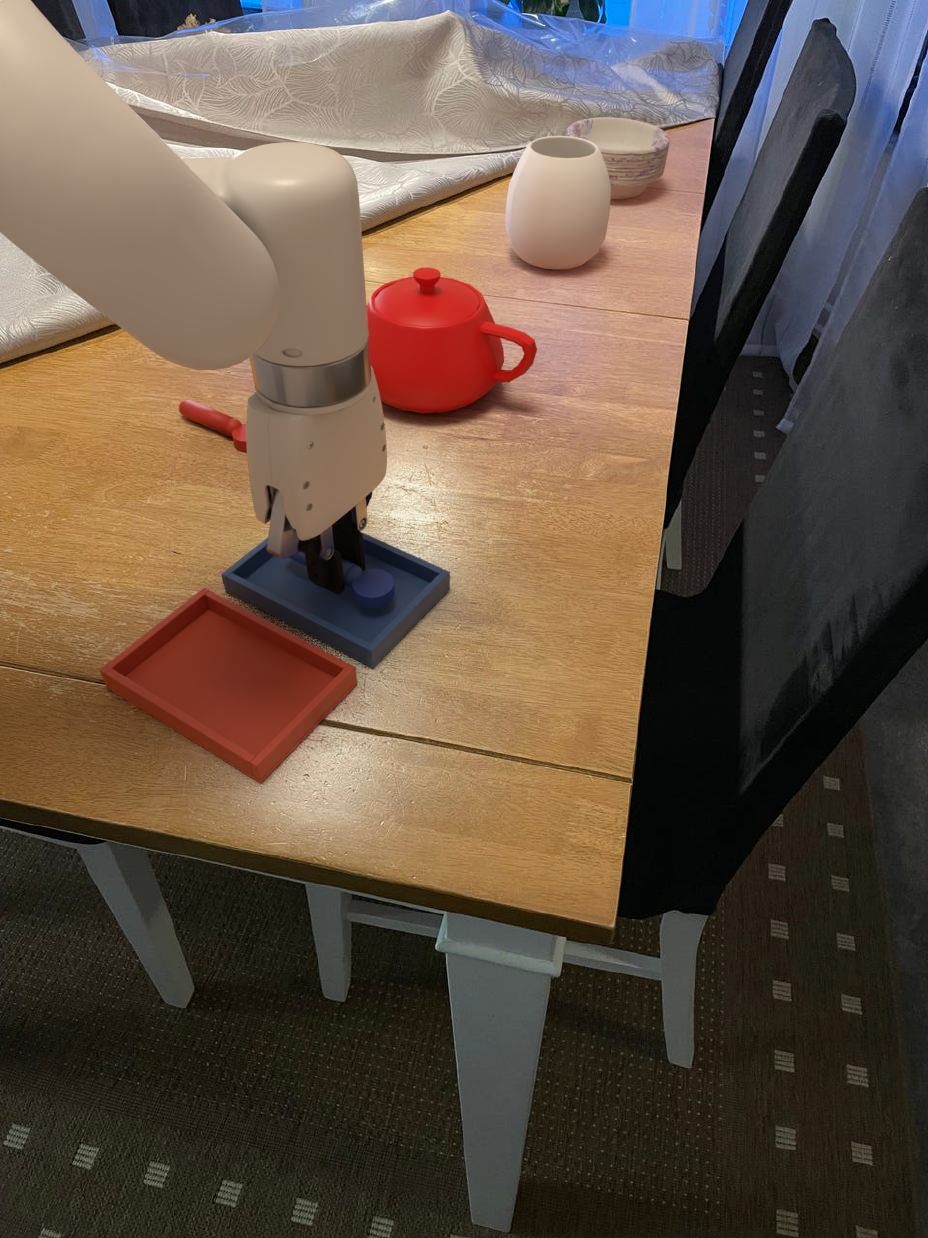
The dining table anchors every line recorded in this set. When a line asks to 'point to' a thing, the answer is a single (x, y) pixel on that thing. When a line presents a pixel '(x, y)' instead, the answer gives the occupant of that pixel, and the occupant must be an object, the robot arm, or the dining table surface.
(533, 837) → the dining table surface
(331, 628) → the blue tray
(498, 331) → the teapot
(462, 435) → the dining table surface
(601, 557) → the dining table surface
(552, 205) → the white vase
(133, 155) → the robot arm
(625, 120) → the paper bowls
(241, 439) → the red spoon
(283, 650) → the red tray
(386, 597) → the blue spoon
